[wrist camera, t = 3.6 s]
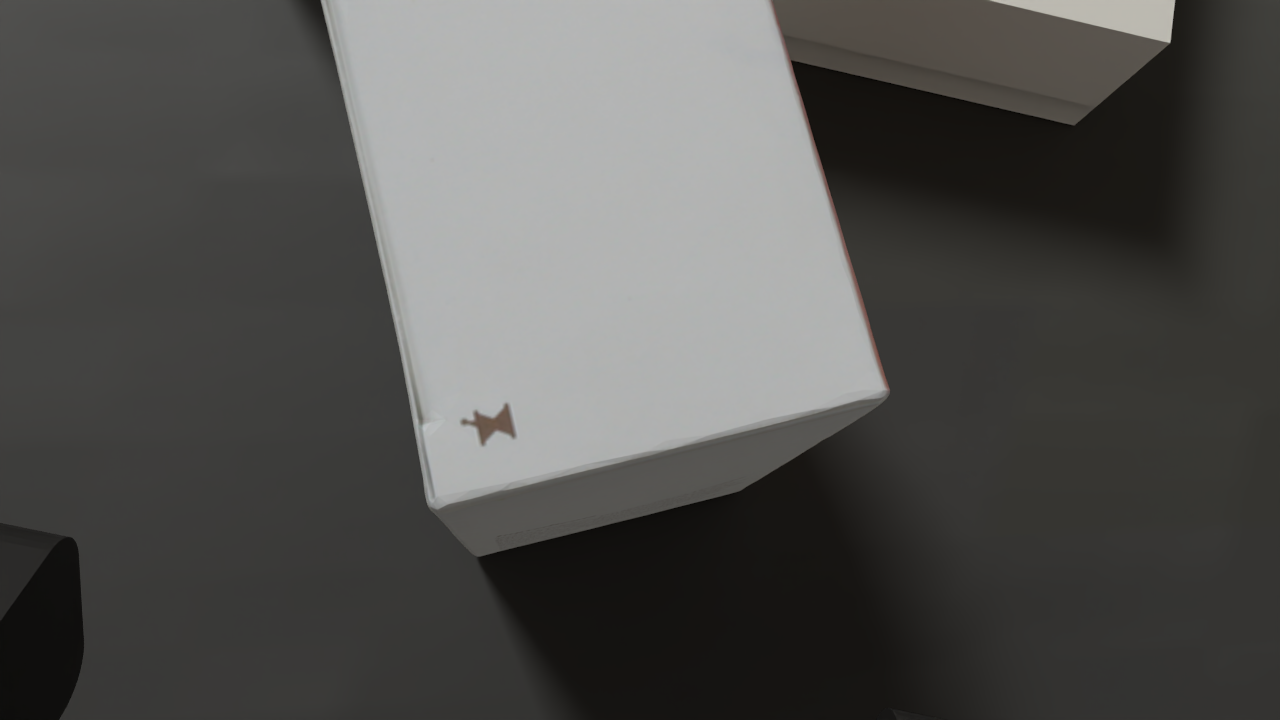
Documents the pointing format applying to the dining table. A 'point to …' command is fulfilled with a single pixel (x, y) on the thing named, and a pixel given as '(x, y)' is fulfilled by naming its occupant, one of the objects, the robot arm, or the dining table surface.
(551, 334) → the small box
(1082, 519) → the dining table surface
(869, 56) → the tray
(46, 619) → the robot arm
